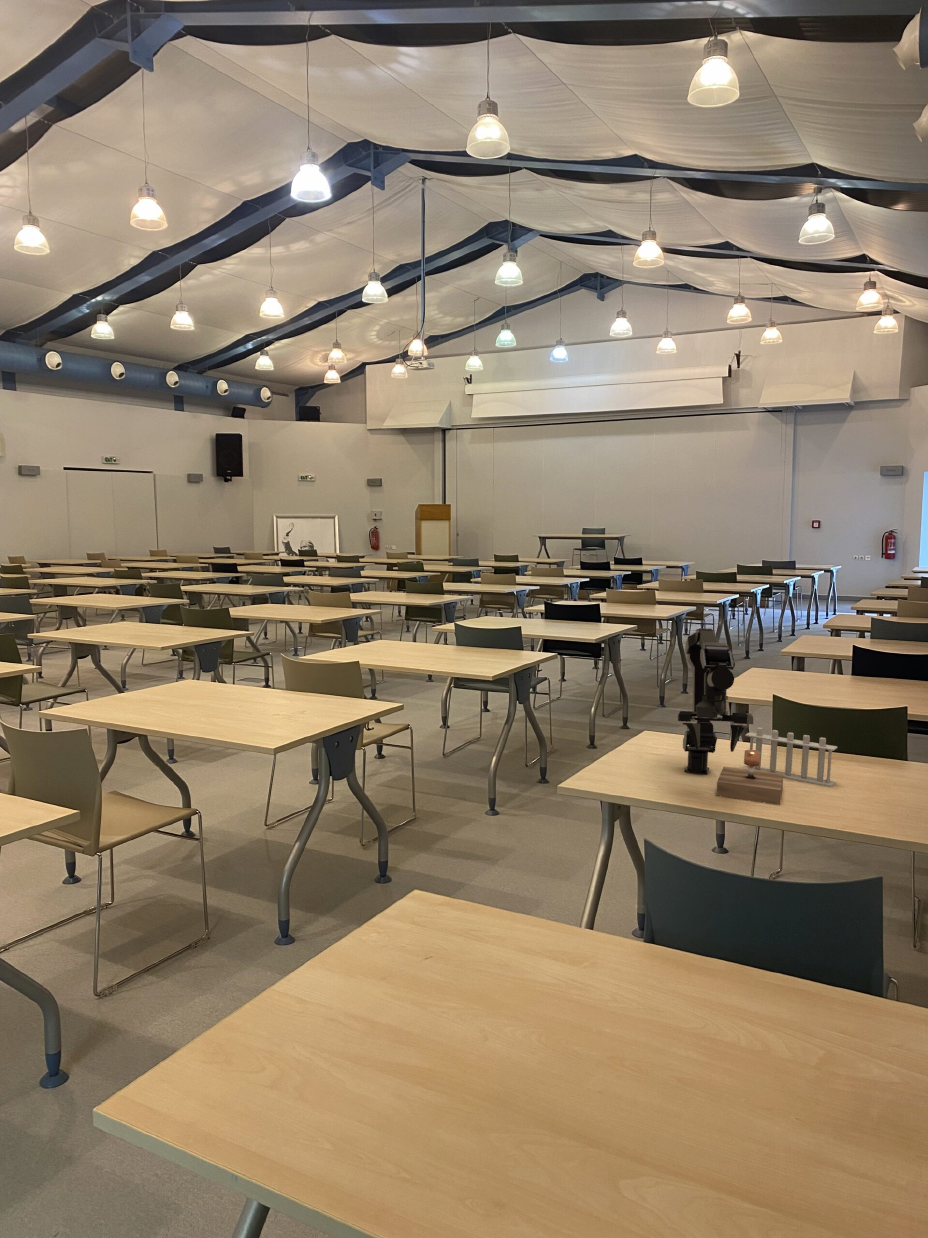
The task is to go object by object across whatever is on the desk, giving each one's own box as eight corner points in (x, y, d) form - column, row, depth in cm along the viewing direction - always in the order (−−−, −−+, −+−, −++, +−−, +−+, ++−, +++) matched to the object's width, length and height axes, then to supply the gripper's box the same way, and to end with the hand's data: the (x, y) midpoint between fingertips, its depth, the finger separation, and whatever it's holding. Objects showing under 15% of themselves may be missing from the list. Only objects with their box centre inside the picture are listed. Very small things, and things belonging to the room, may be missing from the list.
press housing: (722, 780, 238) (723, 766, 238) (782, 788, 232) (783, 774, 231) (716, 796, 223) (717, 781, 223) (779, 804, 217) (780, 790, 217)
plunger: (743, 775, 230) (745, 749, 229) (759, 777, 228) (760, 750, 227) (742, 779, 226) (744, 752, 225) (758, 781, 225) (759, 754, 224)
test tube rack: (835, 784, 237) (838, 739, 235) (831, 788, 233) (834, 742, 232) (747, 767, 252) (750, 725, 250) (742, 770, 248) (745, 727, 247)
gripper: (670, 689, 221) (669, 748, 219) (740, 690, 210) (739, 753, 208) (686, 691, 230) (685, 748, 228) (754, 692, 219) (753, 752, 217)
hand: (714, 750), depth 220 cm, fingers open, 9 cm apart
